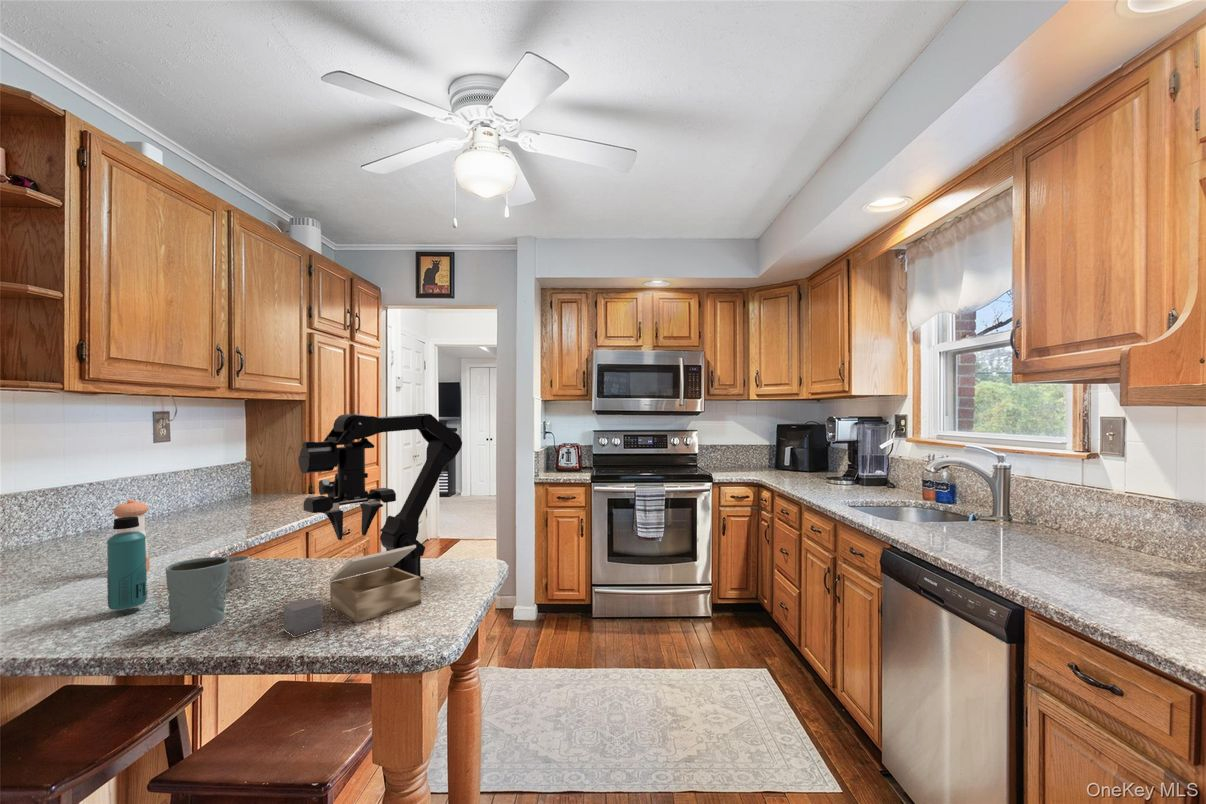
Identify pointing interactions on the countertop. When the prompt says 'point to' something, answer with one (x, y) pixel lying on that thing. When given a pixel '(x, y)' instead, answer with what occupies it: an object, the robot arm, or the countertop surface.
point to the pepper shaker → (133, 510)
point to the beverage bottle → (126, 566)
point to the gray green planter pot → (196, 593)
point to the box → (375, 593)
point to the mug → (238, 572)
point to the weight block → (302, 616)
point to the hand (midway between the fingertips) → (352, 537)
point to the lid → (372, 562)
